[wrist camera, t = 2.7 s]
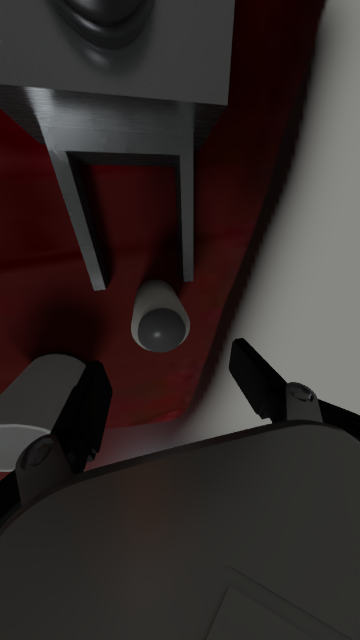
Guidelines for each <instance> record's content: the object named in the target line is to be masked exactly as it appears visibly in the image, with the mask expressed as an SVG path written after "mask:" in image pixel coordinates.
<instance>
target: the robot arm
mask: <svg viewBox="0 0 360 640" xmlns="http://www.w3.org/2000/svg"><path fill="white" fill-rule="evenodd" d="M229 371H230V373H231V374H232V376H233V378H234V379H235V381H236V382H237V384H238V386H239V387H240V389H241V391H242V392H243V394H244V395H245V397H246V399H247V400H248V402H249V403H250V405H251V407H252V408H253V410H254V411H255V413H256V414H258V415H259V416H260V417H261V419H265V418H270V419H271V421H272V424H267V425H263V426H259V427H255V428H251V429H246V430H243V431H238V432H234V433H230V434H226V435H222V436H218V437H214V438H210V439H206V440H202V441H198V442H194V443H190V444H186V445H182V446H178V447H174V448H170V449H166V450H162V451H159V452H155V453H151V454H147V455H143V456H139V457H135V458H132V459H128V460H124V461H120V462H116V463H113V464H109V465H106V466H102V467H98V468H95V469H91V470H89V471H86V472H84V471H83V470H84V469H85V466H86V463H87V462H91V461H94V459H95V455H96V453H98V452H99V450H100V446H101V441H102V437H103V433H104V428H105V424H106V420H107V415H108V411H109V406H110V402H111V398H112V387H111V385H110V382H109V380H108V377H107V374H106V372H105V369H104V367H103V364H102V363H101V362H100V363H99V361H92V362H88V363H87V365H86V367H85V369H84V371H83V373H82V375H81V377H80V379H79V381H78V383H77V385H75V386H74V387H73V389H72V391H71V393H70V395H69V397H68V398H67V400H66V402H65V404H64V406H63V408H62V410H61V412H60V414H59V416H58V418H57V420H56V422H55V424H54V426H53V428H52V430H51V432H50V434H46V435H43V436H41V437H39V438H37V439H36V440H34V441H33V442H32V443H30V444H29V445H28V446H27V447H26V448H25V449H24V450H23V452H22V453H21V455H20V456H19V458H18V460H17V462H16V465H15V469H14V470H13V471H12V472H11V473H9V474H8V475H7V476H6V477H5V478H3V479H2V480H1V481H0V640H360V415H358V414H356V413H353V412H350V411H348V410H345V409H343V408H340V407H338V406H335V405H332V404H330V403H327V402H325V401H322V400H319V399H317V397H316V395H315V394H314V392H313V391H312V390H311V389H310V388H308V387H307V386H305V385H302V384H300V383H296V382H290V383H288V384H287V383H286V381H285V380H284V379H283V378H282V377H281V376H280V375H279V374H278V373H277V372H276V371H275V370H274V369H273V368H272V367H271V366H270V365H269V364H268V363H267V362H266V361H265V360H264V359H263V358H262V357H261V356H260V355H259V353H258V352H257V351H256V350H255V349H254V348H253V347H252V346H251V345H250V344H249V343H248V342H247V341H246V340H244V338H239V339H235V340H234V341H233V342H232V348H231V355H230V362H229Z"/></svg>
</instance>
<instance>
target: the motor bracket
mask: <svg viewBox="0 0 360 640" xmlns="http://www.w3.org/2000/svg"><path fill="white" fill-rule="evenodd" d="M234 6H235V0H0V108H1V109H2V110H3V111H4V112H5V113H6V114H8V115H9V116H10V117H11V118H12V119H13V120H14V121H15V122H16V123H18V124H19V125H20V126H21V127H22V128H23V129H24V130H25V131H27V132H28V133H29V134H30V135H31V136H32V137H33V138H34V139H36V140H37V141H38V142H39V143H40V144H46V145H47V148H48V152H49V155H50V158H51V161H52V164H53V167H54V170H55V173H56V176H57V179H58V182H59V185H60V188H61V191H62V194H63V197H64V200H65V203H66V206H67V209H68V212H69V215H70V218H71V221H72V224H73V227H74V230H75V234H76V237H77V240H78V243H79V246H80V249H81V252H82V255H83V258H84V261H85V264H86V267H87V270H88V273H89V276H90V279H91V282H92V285H93V288H94V291H95V290H105V289H106V288H107V287H108V286H109V284H110V282H109V278H108V274H107V271H106V267H105V263H104V259H103V256H102V252H101V248H100V245H99V241H98V237H97V234H96V230H95V226H94V222H93V219H92V215H91V211H90V208H89V204H88V200H87V197H86V193H85V189H84V185H83V182H82V178H81V174H80V171H79V167H78V164H89V165H131V166H173V167H175V181H176V204H177V227H178V251H179V274H180V278H181V279H182V281H183V282H188V281H193V150H197V151H199V150H200V148H201V147H202V145H203V143H204V142H205V140H206V139H207V137H208V135H209V134H210V132H211V131H212V129H213V128H214V126H215V124H216V123H217V121H218V120H219V118H220V116H221V115H222V113H223V112H224V110H225V108H226V107H227V105H228V91H229V77H230V63H231V49H232V35H233V20H234Z"/></svg>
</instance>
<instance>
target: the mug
mask: <svg viewBox="0 0 360 640" xmlns="http://www.w3.org/2000/svg"><path fill="white" fill-rule="evenodd" d="M86 365H87V364H86V363H85V362H84V361H83V360H82V359H81V358H79V357H77V356H75V355H72V354H68V353H61V352H54V353H48V354H44V355H41V356H39V357H37V358H36V359H35V360H34V361H33V362H32V363H31V364H30V365H29V366H28V367H27V368H26V369H25V370H24V371H23V372H22V373H21V374H20V375H19V376H18V377H17V378H16V379H15V381H14V382H13V383H12V384H11V385H10V386H9V387H8V388H7V389H6V390H5V391H4V392H3V393H2V394H1V395H0V472H5V471H6V472H9V471H13V470H14V469H15V465H16V462H17V460H18V458H19V456H20V455H21V453H22V452H23V450H24V449H25V448H26V447H27V446H28V445H29V444H30V443H32V442H33V441H34V440H36V439H37V438H39V437H41V436H43V435H46V434H50V432H51V430H52V428H53V426H54V424H55V422H56V420H57V418H58V416H59V414H60V412H61V410H62V408H63V406H64V404H65V402H66V400H67V398H68V397H69V395H70V393H71V391H72V389H73V387H74V386H75V385H77V383H78V381H79V379H80V377H81V375H82V373H83V371H84V369H85V367H86Z"/></svg>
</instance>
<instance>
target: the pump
mask: <svg viewBox="0 0 360 640" xmlns="http://www.w3.org/2000/svg"><path fill="white" fill-rule="evenodd" d="M189 329H190V321H189V318H188V315H187V313H186V312H185V310H184V308H183V306H182V304H181V302H180V301H179V299H178V297H177V295H176V293H175V292H174V290H173V288H172V287H171V286H170V285H169V284H168V283H167V282H165V281H162V280H157V279H154V280H149V281H147V282H145V283H143V284H142V285H141V286H140V287H139V289H138V290H137V293H136V298H135V304H134V311H133V318H132V324H131V332H132V336H133V338H134V340H135V341H136V342H137V343H138V344H139V345H140V346H141V347H143V348H145V349H147V350H150V351H154V352H166V351H170V350H172V349H174V348H176V347H177V346H178V345H180V344H181V343H182V342H183V341H184V340H185V338H186V337H187V335H188V333H189Z"/></svg>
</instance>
